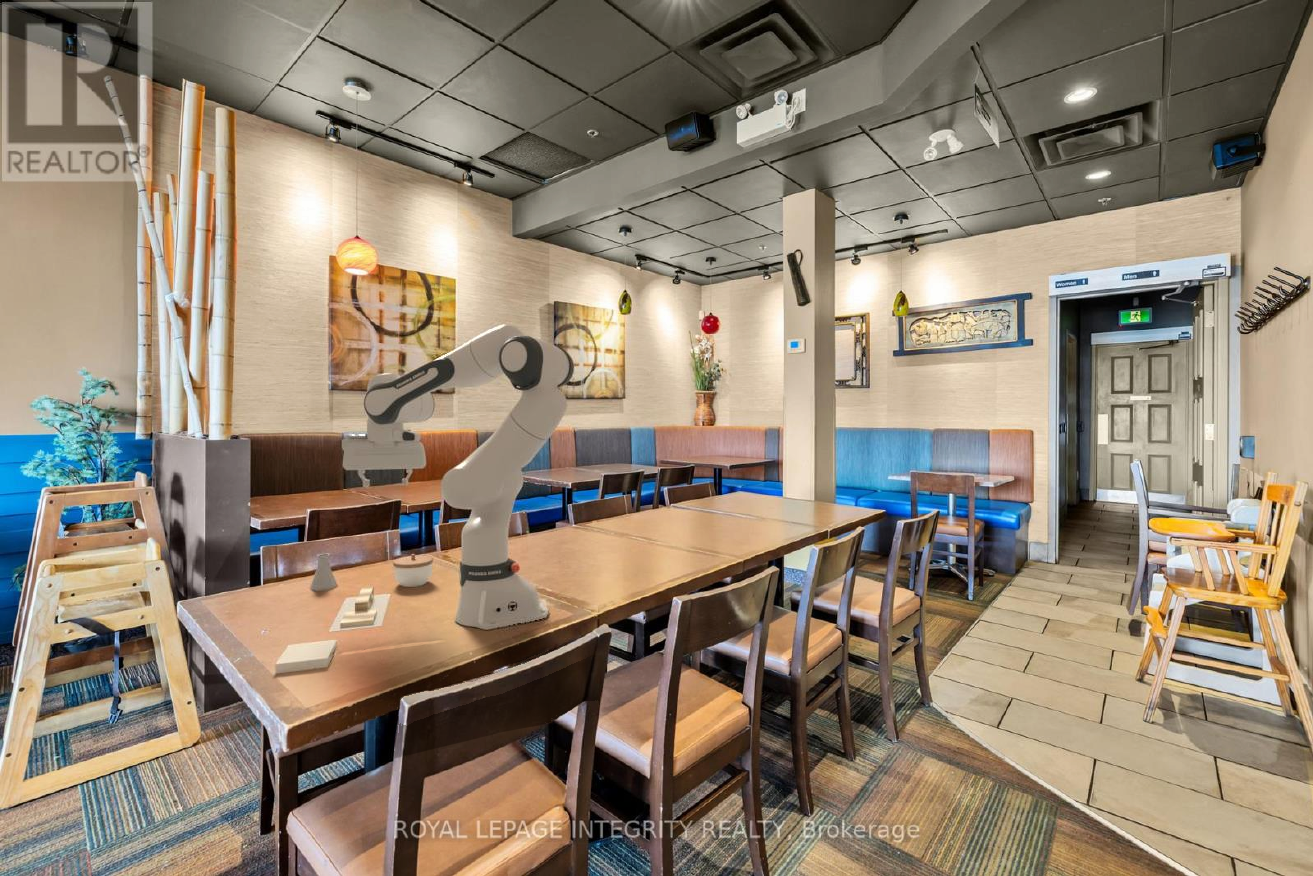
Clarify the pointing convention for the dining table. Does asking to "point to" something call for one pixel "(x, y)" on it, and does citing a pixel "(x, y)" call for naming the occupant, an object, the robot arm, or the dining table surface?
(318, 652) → the rectangular block
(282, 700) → the dining table surface
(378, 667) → the dining table surface
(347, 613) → the turner
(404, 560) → the lidded jar
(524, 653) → the dining table surface
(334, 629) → the mat
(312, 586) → the flask
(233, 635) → the dining table surface
